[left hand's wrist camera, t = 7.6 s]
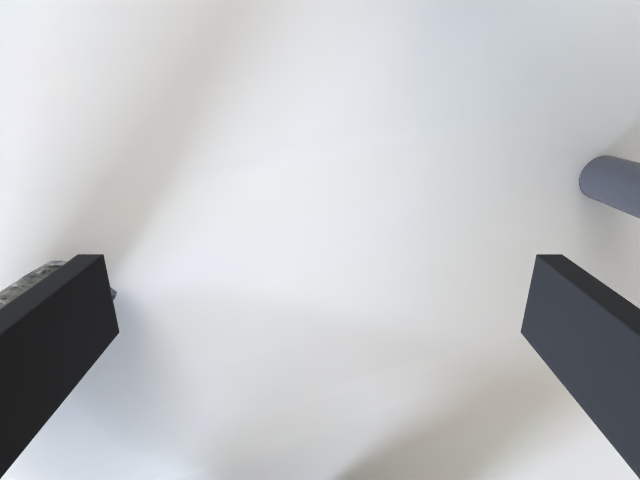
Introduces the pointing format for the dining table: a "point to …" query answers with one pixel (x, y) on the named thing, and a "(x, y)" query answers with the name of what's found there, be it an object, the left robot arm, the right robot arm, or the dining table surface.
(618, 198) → the jar
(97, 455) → the dining table surface
